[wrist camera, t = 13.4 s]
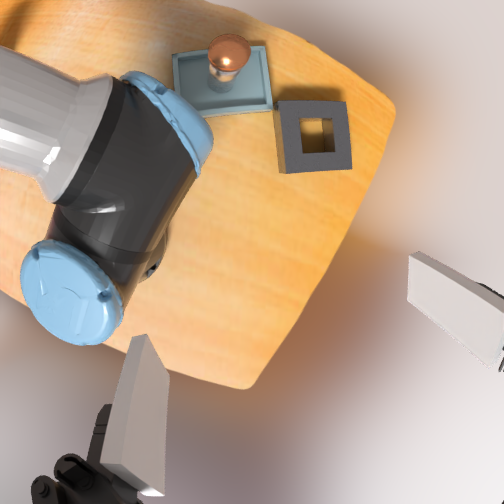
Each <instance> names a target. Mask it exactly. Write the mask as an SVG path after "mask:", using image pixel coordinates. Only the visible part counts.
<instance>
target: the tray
mask: <svg viewBox="0 0 504 504" xmlns="http://www.w3.org/2000/svg"><path fill="white" fill-rule="evenodd" d="M250 47H251V55H250V58H249V60H248V62H247V63H246V65H245V66H244V67H243V68H242V69H241V70H240V73H239V75H238V77H237V79H236V81H235V83H234V86H233V88H232V89H231V90H230V91H228V92H226V93H216V92H214V91H212V90H211V89H210V88H209V86H208V75H209V66H210V62H209V60H208V50H209V49H205V50H197V51H190V52H183V53H177V54H172V63H173V77H174V89H175V92H176V93H177V94H179V95H180V96H181V97H182V98H184V99H185V100H186V101H187V102H188V103H189V104H190V105H191V106H193V107H194V108H195V109H196V110H197V111H198V112H199V114H200V115H201V116H202V117H203V118H209V117H217V116H225V115H235V114H246V113H259V112H270V111H271V110H273V104H272V96H271V88H270V80H269V73H268V66H267V58H266V52H265V46H250Z"/></svg>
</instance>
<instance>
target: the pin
mask: <svg viewBox="0 0 504 504" xmlns="http://www.w3.org/2000/svg"><path fill="white" fill-rule="evenodd" d="M250 55H251V47H250V45H249V43H248V42H247V41H246V40H245V39H244V38H242V37H241V36H238V35H234V34H225V35H221V36H219V37H217V38H215V39H214V40H213V41H212V42H211V44H210V46H209V50H208V60H209V62H210V66H209V75H208V86H209V88H210V89H211V90H212V91H214V92H216V93H226V92H228V91H230V90H231V89H232V88H233V86H234V83H235V81H236V79H237V77H238V75H239V73H240V70H241V69H242V68H243V67H244V66H245V65H246V63H247V62H248V60H249V58H250Z"/></svg>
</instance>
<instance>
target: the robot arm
mask: <svg viewBox="0 0 504 504" xmlns="http://www.w3.org/2000/svg"><path fill="white" fill-rule="evenodd" d="M213 140H214V138H213V133H212V131H211V128H210V127H209V125H208V123H207V122H206V121H205V119H204V118H203V117H202V116H201V115H200V114H199V112H198V111H197V110H196V109H195V108H194V107H193V106H191V105H190V104H189V103H188V102H187V101H186V100H185V99H184V98H182V97H181V96H180V95H179V94H177V93H176V92H175V91H173V90H172V89H168V88H166V87H165V86H164V85H163V84H162V83H161V82H159V81H158V80H157V79H155V78H153V77H151V76H149V75H147V74H145V73H142V72H139V71H129V72H127V73H126V74H125V75H122V76H121V77H120V78H119V80H118V79H116V78H115V77H113V76H111V75H109V74H107V73H103V74H100V75H97V76H93V77H91V78H88V79H83V80H78V79H76V78H74V77H72V76H70V75H68V74H66V73H64V72H62V71H60V70H58V69H56V68H53V67H51V66H49V65H47V64H45V63H42V62H40V61H38V60H36V59H33V58H31V57H29V56H26V55H24V54H22V53H19V52H17V51H14V50H12V49H9V48H7V47H4V46H2V45H0V168H1V169H4V170H8V171H11V172H15V173H18V174H21V175H25V176H28V177H31V178H34V179H35V181H36V182H37V184H38V186H39V188H40V191H41V193H42V195H43V197H44V199H45V201H47V202H49V203H53V204H56V207H55V210H54V212H53V215H52V218H51V221H50V224H49V227H48V230H47V233H46V236H45V238H44V240H42V241H40V242H38V243H37V244H35V245H33V246H32V247H31V250H30V251H29V252H28V253H27V255H26V256H25V258H24V260H23V262H22V265H21V271H20V282H21V289H22V292H23V296H24V298H25V301H26V303H27V305H28V306H29V307H30V309H31V310H32V312H33V314H34V316H35V317H36V319H37V320H38V321H39V322H40V323H41V325H43V326H44V327H45V328H46V329H47V330H48V331H50V332H51V333H52V334H53V335H55V336H56V337H58V338H60V339H62V340H64V341H66V342H69V343H72V344H76V345H81V346H84V345H87V344H89V345H96V344H99V343H102V342H104V341H105V340H107V339H108V338H109V337H110V336H111V335H112V334H113V332H114V331H115V329H116V328H117V327H118V326H119V325H120V324H121V322H122V319H123V315H124V311H125V308H126V306H127V304H128V302H129V300H130V298H131V296H132V294H133V292H134V290H135V288H136V286H137V284H138V283H140V282H142V281H144V280H146V279H147V278H149V277H150V276H151V275H152V274H153V273H154V272H155V271H156V269H157V268H158V267H159V265H160V263H161V261H162V259H163V256H164V253H165V250H166V244H167V234H166V228H167V226H168V224H169V223H170V221H171V219H172V217H173V216H174V214H175V212H176V211H177V209H178V207H179V206H180V204H181V202H182V200H183V199H184V197H185V195H186V194H187V192H188V191H189V189H190V187H191V186H192V184H193V182H194V181H195V179H197V178H198V177H199V174H200V172H201V168H202V166H203V164H204V162H205V161H206V159H207V157H208V155H209V154H210V152H211V150H212V147H213ZM407 301H409V302H410V303H411V304H412V305H414V306H415V307H416V308H417V309H419V310H420V311H421V312H422V313H424V314H425V315H426V316H427V317H429V318H430V319H431V320H432V321H433V322H435V323H436V324H437V325H438V326H440V327H441V328H442V329H444V331H446V332H447V333H448V334H449V335H450V336H452V337H453V338H454V339H455V340H456V341H457V342H459V343H460V344H461V345H462V346H463V347H464V348H466V349H467V350H468V351H469V352H470V353H471V354H472V355H473V356H475V357H476V358H477V359H478V360H479V361H480V362H481V363H482V364H483V365H485V366H486V367H487V368H488V369H489V368H490V367H491V366H492V365H493V364H494V363H495V362H497V360H498V359H499V356H500V354H501V352H502V350H504V296H502V295H500V294H498V293H497V292H496V291H493V290H492V289H491V288H489V287H487V286H486V285H484V284H481V283H477V282H474V281H473V280H471V279H469V278H467V277H466V276H464V275H462V274H461V273H459V272H457V271H455V270H453V269H452V268H450V267H448V266H446V265H444V264H443V263H441V262H439V261H437V260H435V259H433V258H431V257H430V256H427V255H426V254H424V253H421V252H420V251H418V252H416V253H413V254H411V255H409V277H408V296H407ZM503 365H504V358H503V360H502V362H501V365H500V367H499V372H501V370H502V368H503ZM503 372H504V370H503ZM169 380H170V376H169V374H168V372H167V370H166V369H165V367H164V365H163V363H162V362H161V360H160V358H159V356H158V354H157V352H156V351H155V349H154V347H153V345H152V343H151V341H150V339H149V337H148V335H147V334H144V335H139V336H135V337H132V339H131V342H130V345H129V348H128V352H127V355H126V358H125V362H124V365H123V368H122V372H121V375H120V378H119V382H118V386H117V389H116V393H115V397H114V401H113V404H105V405H104V406H103V408H102V409H101V411H100V412H99V413H98V416H97V419H96V423H95V425H96V427H94V431H93V436H92V439H91V443H90V448H89V452H88V456H87V460H86V461H85V460H83V459H82V458H81V457H80V456H78V455H76V454H66V455H64V456H62V457H61V458H60V459H59V460H58V461H57V462H56V464H55V467H54V476H55V478H56V479H57V480H59V482H55V481H54V480H53V479H51V478H50V477H48V476H45V475H43V476H39V477H37V478H36V479H35V480H34V481H33V483H32V486H31V495H32V502H33V504H143V503H142V501H141V500H139V499H138V498H137V491H139V492H141V493H142V494H144V495H145V496H165V444H166V443H165V442H166V421H167V406H168V391H169ZM502 504H504V501H503V502H502Z"/></svg>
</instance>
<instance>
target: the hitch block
mask: <svg viewBox="0 0 504 504" xmlns="http://www.w3.org/2000/svg"><path fill="white" fill-rule="evenodd" d="M272 111H273V120H274V128H275V137H276V147H277V156H278V166H279V173H284V174H290V173H301V172H314V171H329V170H348V169H352V156H351V144H350V133H349V124H348V115H347V107H346V102H340V101H313V100H287V101H277V102H276V103H275V104H274V105H273V110H272ZM299 121H322V127H323V137H324V147H325V153H304V154H303V152H302V142H301V132H300V123H299Z"/></svg>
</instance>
